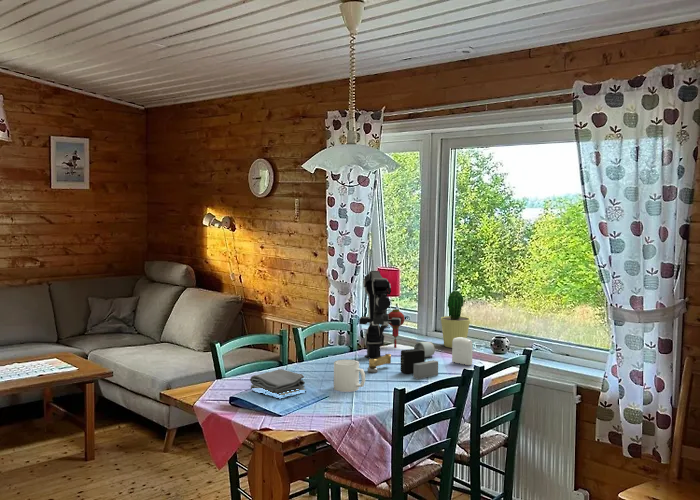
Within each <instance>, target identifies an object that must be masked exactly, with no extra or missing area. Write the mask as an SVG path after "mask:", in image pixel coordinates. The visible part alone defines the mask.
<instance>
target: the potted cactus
mask: <svg viewBox="0 0 700 500" xmlns="http://www.w3.org/2000/svg"><path fill="white" fill-rule="evenodd" d="M447 295H448V297H447V299H446V300H447V306H446V308H447V309H448V315H446V316H441V317H440V321H441V322H440V323H441V329H442V330H441V331H442V339H443V340H442V341H443V346H444V347H446V348H451V349H452V341H453V339H454V338H457V337H463V338H467V339H468V334H469V330H470V329H469V328H470V323H471V322H470V321H471V318H470V317H467V316H461V314H462V313H463V309H462V308H463V307H464V306H465V305H464V304H465V303H464V296H463V294H462V293H461V291H460V290H459V291H458V290H452V291H451V292H450V293H449V294H447Z"/></svg>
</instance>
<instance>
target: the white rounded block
mask: <svg viewBox="0 0 700 500" xmlns="http://www.w3.org/2000/svg"><path fill="white" fill-rule="evenodd" d="M473 346H474V345H473V341H472V340H471V339H469V338H468V337H467V338H463V337H457V338H454V339H453V341H452V348H451V362H452V363H454V362H455V364H459V363H460V365H464V364H465V365H466V366H471V365H472V364H473ZM465 365H464V366H465Z"/></svg>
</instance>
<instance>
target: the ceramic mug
mask: <svg viewBox="0 0 700 500" xmlns="http://www.w3.org/2000/svg"><path fill="white" fill-rule="evenodd" d="M413 349H422V350H424V351H425V358H430V357H432V356H433V355H435V352H436V348H435V344H434V343H432V342H430V341H421V342H420V341H419V342H416V343H415V344H414V347H413Z"/></svg>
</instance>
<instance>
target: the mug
mask: <svg viewBox="0 0 700 500" xmlns="http://www.w3.org/2000/svg"><path fill="white" fill-rule="evenodd" d="M360 376H361V381H360ZM365 383H366V373H365V371H364V368H360V361H358V360H354V359H337V360H335V361H334V362H333V390H334V391H337V392H342V393H351V392H356V391H358V390H359V389H360V388H362V387H364V386H365Z"/></svg>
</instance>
